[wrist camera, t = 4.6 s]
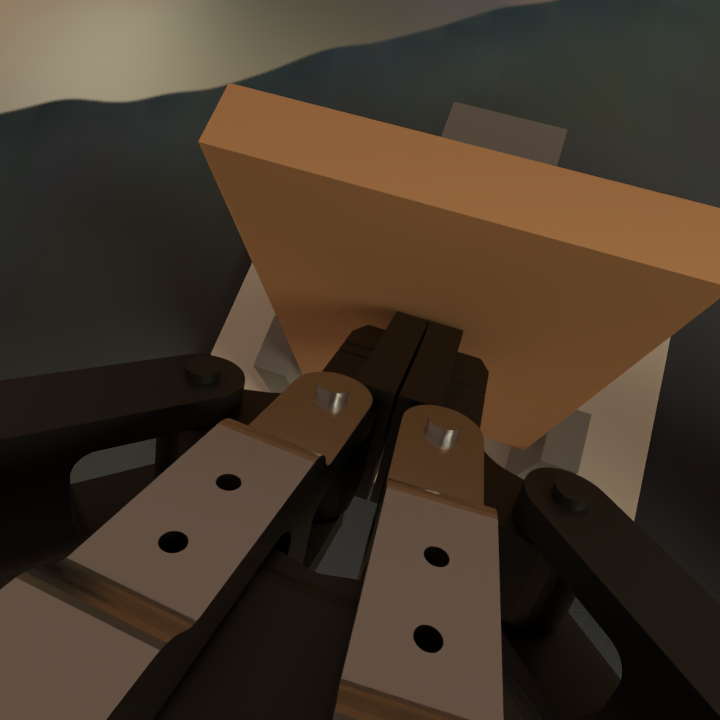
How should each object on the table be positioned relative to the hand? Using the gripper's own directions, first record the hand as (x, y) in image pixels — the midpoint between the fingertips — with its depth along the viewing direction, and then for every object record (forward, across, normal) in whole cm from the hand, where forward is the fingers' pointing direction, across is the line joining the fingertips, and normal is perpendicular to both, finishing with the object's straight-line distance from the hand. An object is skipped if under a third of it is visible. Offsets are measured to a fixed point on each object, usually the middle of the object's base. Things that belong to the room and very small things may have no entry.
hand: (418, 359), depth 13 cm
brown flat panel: (+6, 0, +4) cm, 8 cm away
